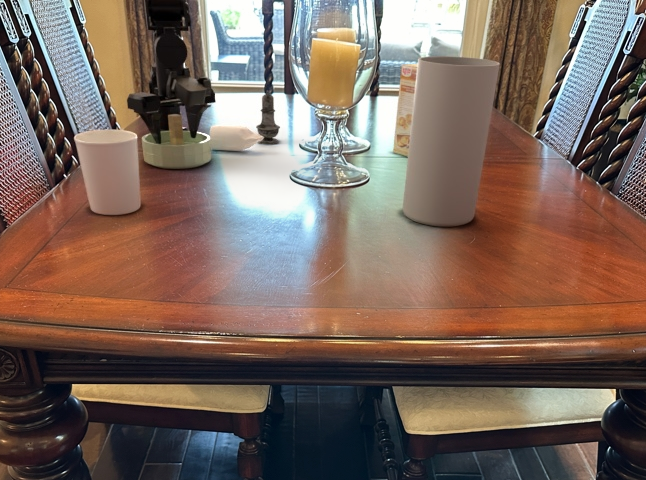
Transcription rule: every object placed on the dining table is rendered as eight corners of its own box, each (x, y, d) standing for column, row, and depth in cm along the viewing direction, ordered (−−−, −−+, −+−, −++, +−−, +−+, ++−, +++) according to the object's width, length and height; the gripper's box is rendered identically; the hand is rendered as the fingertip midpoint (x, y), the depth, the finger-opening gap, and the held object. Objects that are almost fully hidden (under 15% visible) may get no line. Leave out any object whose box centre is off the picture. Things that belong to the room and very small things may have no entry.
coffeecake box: (413, 159, 141) (424, 67, 132) (391, 152, 146) (399, 64, 136) (454, 150, 150) (466, 64, 140) (431, 144, 155) (442, 60, 145)
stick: (171, 158, 132) (167, 115, 127) (179, 156, 133) (175, 113, 129) (177, 160, 131) (173, 116, 126) (184, 158, 132) (181, 115, 128)
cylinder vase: (429, 232, 100) (451, 67, 87) (388, 209, 109) (402, 57, 97) (488, 222, 105) (517, 65, 92) (444, 201, 115) (464, 55, 102)
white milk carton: (260, 155, 139) (260, 130, 136) (209, 152, 140) (208, 127, 137) (266, 149, 144) (266, 125, 141) (216, 146, 145) (215, 121, 142)
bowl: (130, 160, 131) (127, 136, 129) (183, 150, 141) (181, 127, 138) (172, 174, 124) (170, 149, 121) (224, 161, 133) (223, 138, 131)
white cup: (156, 203, 108) (149, 133, 102) (123, 220, 100) (113, 145, 94) (109, 195, 110) (99, 127, 104) (73, 211, 102) (60, 138, 96)
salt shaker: (281, 139, 153) (281, 88, 147) (278, 145, 148) (278, 92, 142) (258, 138, 154) (257, 87, 148) (254, 143, 149) (253, 91, 143)
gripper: (156, 69, 112) (164, 155, 120) (231, 62, 124) (234, 141, 132) (120, 63, 118) (130, 145, 126) (196, 57, 130) (200, 132, 138)
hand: (176, 141), depth 130 cm, fingers open, 9 cm apart
